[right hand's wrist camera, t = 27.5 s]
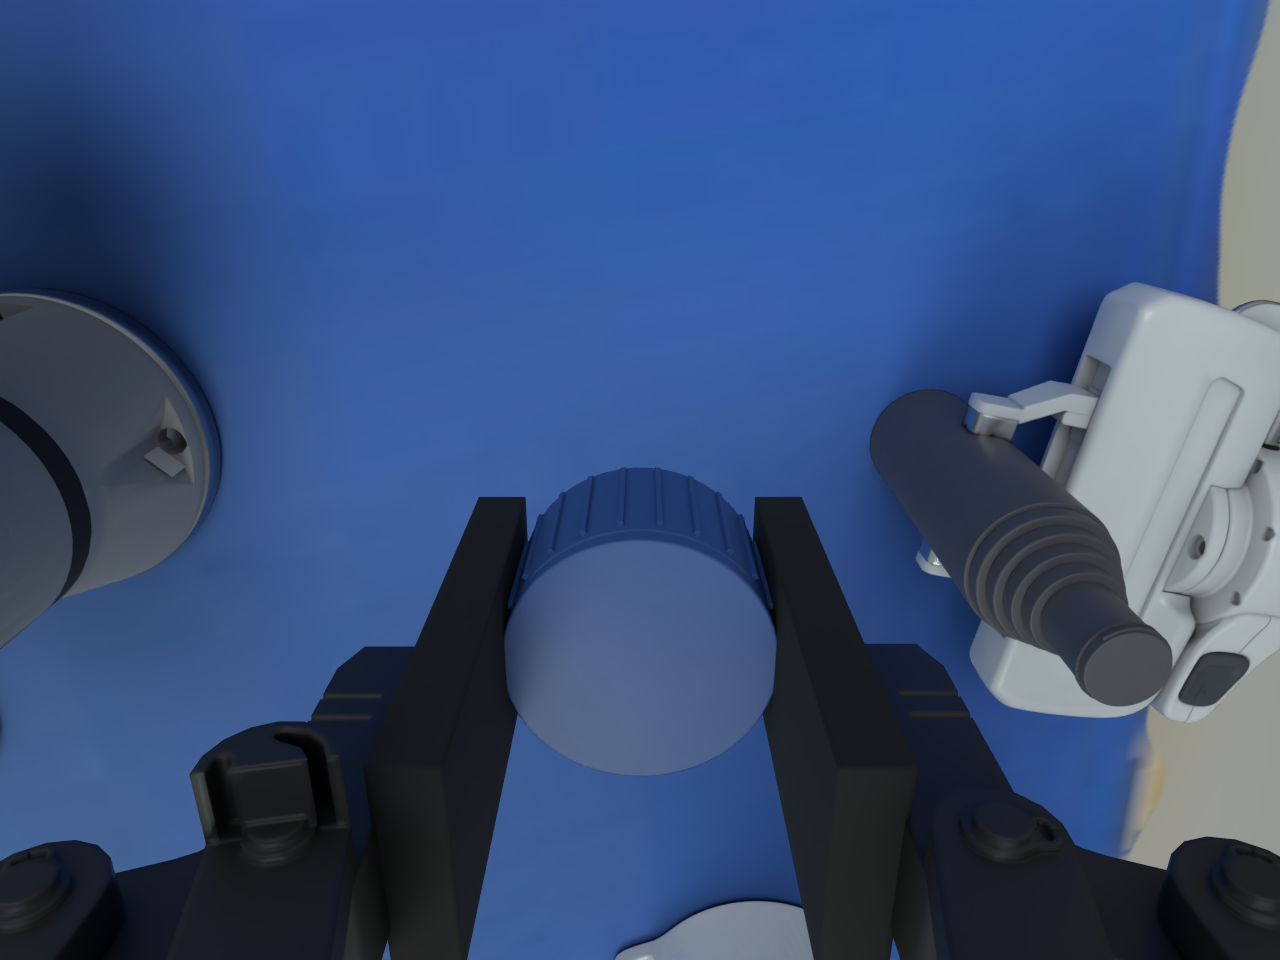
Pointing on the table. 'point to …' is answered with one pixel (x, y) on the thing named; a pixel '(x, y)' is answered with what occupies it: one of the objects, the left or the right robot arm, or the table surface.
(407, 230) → the table surface
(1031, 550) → the bottle
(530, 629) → the cap
